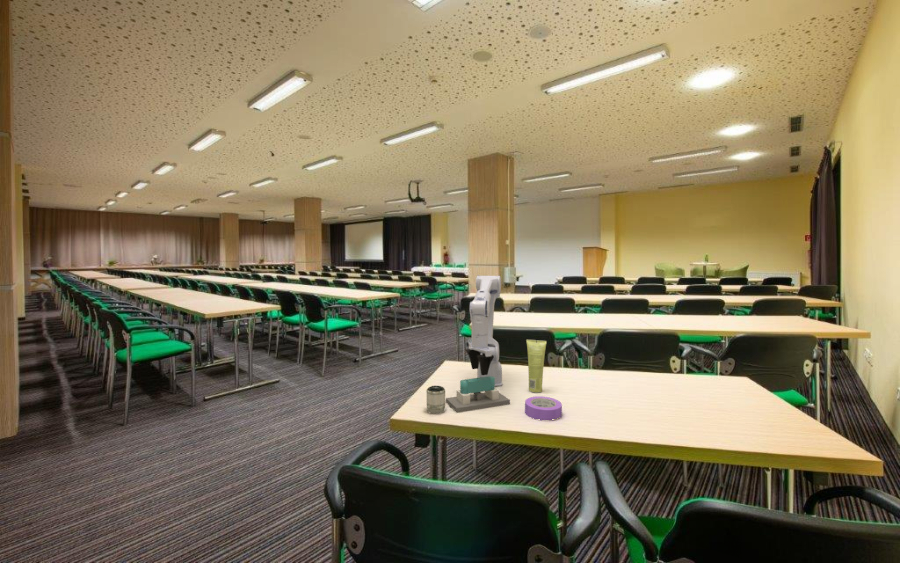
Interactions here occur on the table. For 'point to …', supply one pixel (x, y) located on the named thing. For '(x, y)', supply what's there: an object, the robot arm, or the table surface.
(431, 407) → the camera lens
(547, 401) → the masking tape
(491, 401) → the display stand
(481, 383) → the teal dome-capped pillar
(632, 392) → the table surface
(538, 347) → the tube
